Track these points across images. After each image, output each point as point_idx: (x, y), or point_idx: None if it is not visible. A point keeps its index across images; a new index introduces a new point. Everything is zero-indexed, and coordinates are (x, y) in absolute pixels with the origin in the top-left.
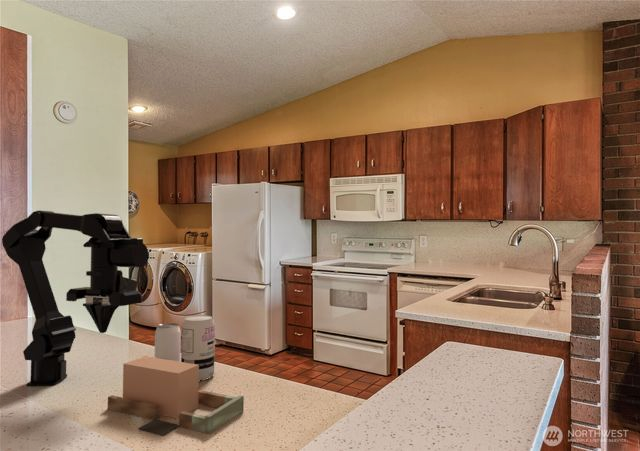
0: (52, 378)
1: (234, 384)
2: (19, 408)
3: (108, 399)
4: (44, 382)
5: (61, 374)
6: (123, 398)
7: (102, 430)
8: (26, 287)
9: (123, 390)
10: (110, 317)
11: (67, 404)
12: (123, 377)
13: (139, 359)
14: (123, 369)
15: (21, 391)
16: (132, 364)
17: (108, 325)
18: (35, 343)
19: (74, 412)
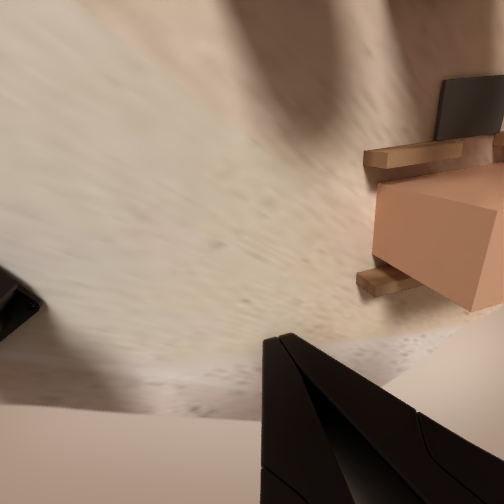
0: (3, 311)
1: None
2: (179, 396)
3: (372, 293)
4: (5, 327)
5: (5, 291)
6: (414, 279)
7: (414, 326)
8: None
9: (401, 269)
10: (433, 437)
11: (250, 326)
12: (430, 287)
13: (497, 252)
14: (453, 301)
15: (26, 376)
16: (502, 297)
17: (338, 362)
18: None
19: (307, 330)
